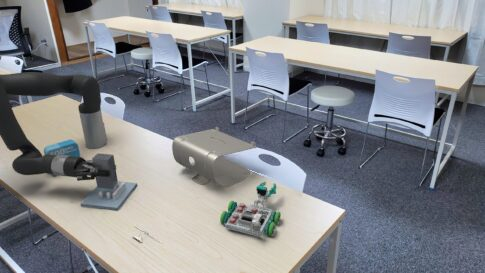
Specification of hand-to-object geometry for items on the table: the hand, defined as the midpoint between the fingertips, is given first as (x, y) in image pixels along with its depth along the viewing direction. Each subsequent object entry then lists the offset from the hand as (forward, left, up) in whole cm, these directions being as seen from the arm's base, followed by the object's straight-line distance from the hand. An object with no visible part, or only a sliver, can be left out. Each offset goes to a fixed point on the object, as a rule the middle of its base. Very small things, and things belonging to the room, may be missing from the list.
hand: (112, 170), depth 133 cm
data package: (-14, -30, -11) cm, 35 cm away
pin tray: (0, -3, -11) cm, 11 cm away
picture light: (+19, +18, -12) cm, 29 cm away
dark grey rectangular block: (0, -3, -7) cm, 7 cm away
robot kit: (+1, +52, -12) cm, 53 cm away
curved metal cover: (-23, +32, -11) cm, 41 cm away
